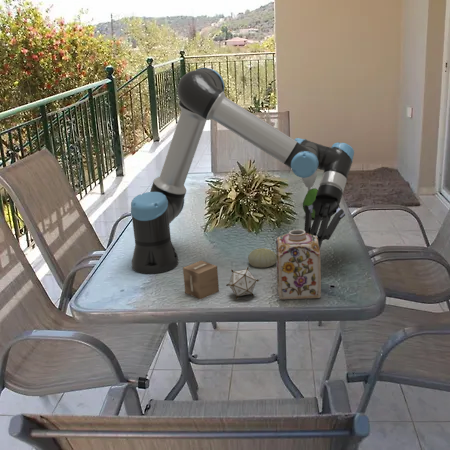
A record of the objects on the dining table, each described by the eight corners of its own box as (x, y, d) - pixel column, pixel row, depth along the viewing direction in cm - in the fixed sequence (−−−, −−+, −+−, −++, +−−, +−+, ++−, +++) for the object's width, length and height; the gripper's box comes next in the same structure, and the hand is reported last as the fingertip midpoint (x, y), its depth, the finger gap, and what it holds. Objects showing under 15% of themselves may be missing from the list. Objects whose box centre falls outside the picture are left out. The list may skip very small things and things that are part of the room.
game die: (248, 309, 167) (255, 292, 159) (220, 298, 167) (225, 280, 160) (257, 284, 172) (264, 266, 164) (230, 274, 173) (236, 255, 165)
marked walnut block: (184, 293, 171) (182, 267, 169) (203, 285, 176) (201, 259, 173) (200, 299, 166) (198, 273, 164) (218, 291, 171) (217, 265, 168)
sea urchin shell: (271, 266, 182) (254, 246, 183) (256, 279, 186) (240, 260, 188) (284, 255, 189) (268, 237, 190) (269, 269, 194) (254, 250, 195)
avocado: (323, 214, 234) (323, 185, 230) (323, 220, 226) (323, 190, 223) (303, 214, 235) (302, 185, 231) (302, 220, 228) (301, 191, 224)
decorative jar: (321, 299, 162) (320, 237, 156) (279, 300, 162) (277, 239, 157) (316, 281, 173) (315, 223, 167) (277, 283, 174) (274, 225, 168)
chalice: (320, 206, 245) (320, 164, 239) (314, 210, 240) (313, 167, 234) (304, 204, 249) (304, 162, 243) (297, 208, 243) (296, 166, 238)
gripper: (354, 197, 180) (334, 267, 172) (314, 193, 186) (293, 260, 178) (348, 184, 174) (326, 256, 166) (307, 181, 180) (285, 250, 172)
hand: (309, 258), depth 172 cm, fingers closed
